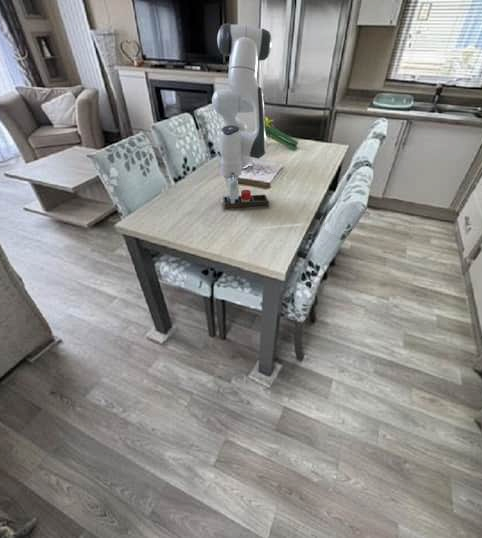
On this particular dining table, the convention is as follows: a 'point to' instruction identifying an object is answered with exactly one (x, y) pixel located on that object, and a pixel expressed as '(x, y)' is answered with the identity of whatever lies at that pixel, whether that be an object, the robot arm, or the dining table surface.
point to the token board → (252, 203)
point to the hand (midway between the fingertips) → (231, 199)
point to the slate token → (229, 199)
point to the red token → (245, 194)
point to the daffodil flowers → (289, 143)
